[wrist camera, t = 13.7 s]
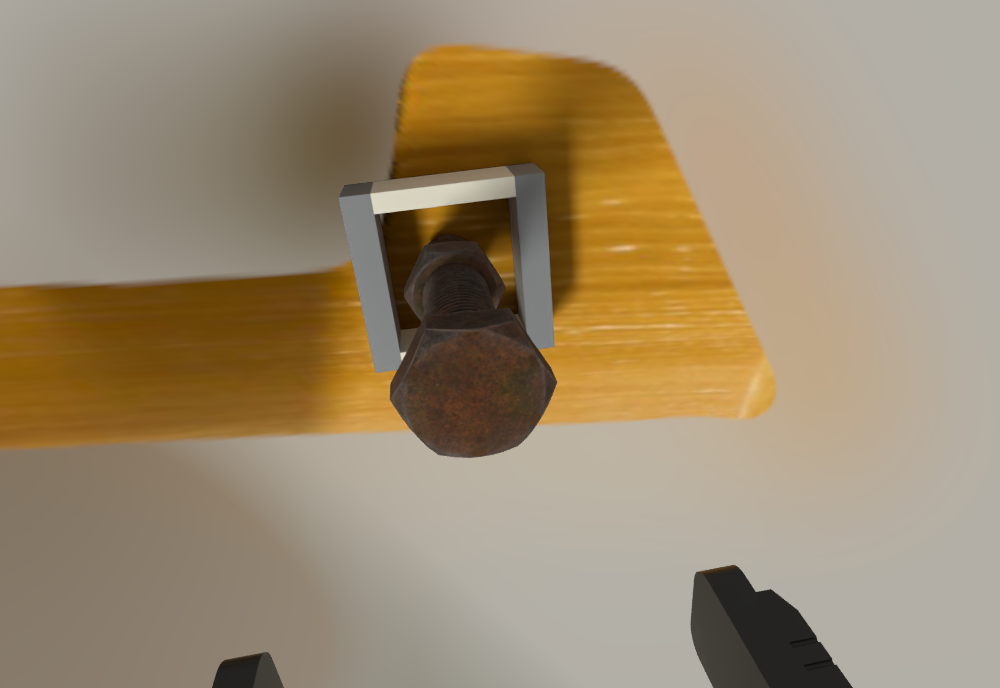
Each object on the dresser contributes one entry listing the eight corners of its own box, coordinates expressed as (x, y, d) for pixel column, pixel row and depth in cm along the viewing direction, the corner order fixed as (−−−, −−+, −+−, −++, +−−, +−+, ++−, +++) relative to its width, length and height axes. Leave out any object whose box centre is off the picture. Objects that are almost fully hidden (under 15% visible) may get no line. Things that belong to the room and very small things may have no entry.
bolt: (498, 212, 33) (560, 321, 19) (501, 297, 35) (559, 448, 22) (391, 220, 32) (379, 337, 19) (401, 306, 34) (398, 466, 21)
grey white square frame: (378, 348, 35) (375, 372, 33) (344, 185, 31) (338, 197, 28) (543, 325, 36) (554, 346, 33) (533, 162, 32) (544, 172, 29)
